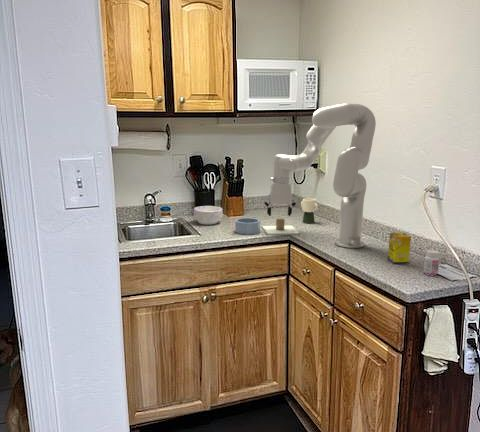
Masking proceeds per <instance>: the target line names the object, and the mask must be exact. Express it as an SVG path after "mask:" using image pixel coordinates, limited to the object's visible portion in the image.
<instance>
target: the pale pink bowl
mask: <svg viewBox="0 0 480 432" xmlns="http://www.w3.org/2000/svg"><path fill="white" fill-rule="evenodd" d="M223 210H224V209H223V208H222V207H220V206H214V205H202V206H201V205H200V206H196V207H194V208H193V219H195V220H197V222H198V223H199V224H200V225H206V226H208V225H209V226H211V225H216V224H218V223H219V221H220V220H221V219H222V218H223Z"/></svg>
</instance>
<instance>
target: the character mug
mask: <svg viewBox="0 0 480 432" xmlns="http://www.w3.org/2000/svg"><path fill="white" fill-rule="evenodd" d="M300 207H301V209H302V212H304V213H303V217H302V223H304V224H314V223H315V215H314V212H316V211H318V210H319V205H318V203H317V199H316V198H308V197H307V198H305V197H304V198H303V199H302V201H301V202H300Z"/></svg>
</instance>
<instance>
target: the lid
mask: <svg viewBox="0 0 480 432" xmlns="http://www.w3.org/2000/svg"><path fill="white" fill-rule="evenodd" d="M285 219H286V218H280V217H279V218H276V220H275V221H276V222H275V225H262V228H263V229H264V231H265V232H266V233H267V235H266V236H289V235H288V234H300V232H299V231H298V230H297V229H296V228H295V227H294V226H293V225H285ZM262 228H261V229H262ZM263 229H262V230H263ZM264 231H263V232H264ZM265 232H264V233H265Z"/></svg>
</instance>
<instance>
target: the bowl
mask: <svg viewBox="0 0 480 432" xmlns="http://www.w3.org/2000/svg"><path fill="white" fill-rule="evenodd" d="M261 224H262V223H261V219H259V218H256V217H255V218H253V217H240V218H236V219H234V232H235V234H239V235H245V236H246V235H250V236H251V235H258V234H259V233H261Z"/></svg>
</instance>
